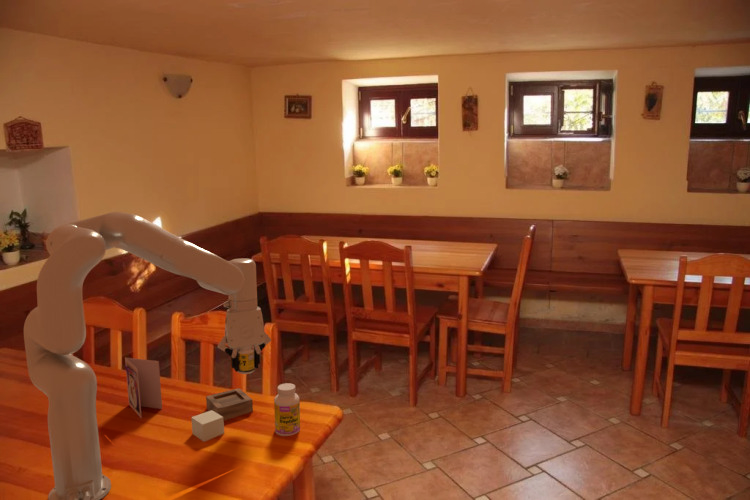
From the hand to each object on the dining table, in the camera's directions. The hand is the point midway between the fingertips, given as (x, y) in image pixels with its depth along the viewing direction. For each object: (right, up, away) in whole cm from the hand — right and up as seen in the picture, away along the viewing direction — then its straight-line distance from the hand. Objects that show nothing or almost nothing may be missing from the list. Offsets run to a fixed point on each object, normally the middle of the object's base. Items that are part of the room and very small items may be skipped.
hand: (245, 367), depth 164 cm
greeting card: (-31, -14, +9) cm, 35 cm away
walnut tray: (-6, -15, +7) cm, 17 cm away
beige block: (-9, -17, -6) cm, 20 cm away
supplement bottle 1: (0, -1, 0) cm, 1 cm away
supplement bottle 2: (+12, -16, -5) cm, 21 cm away
